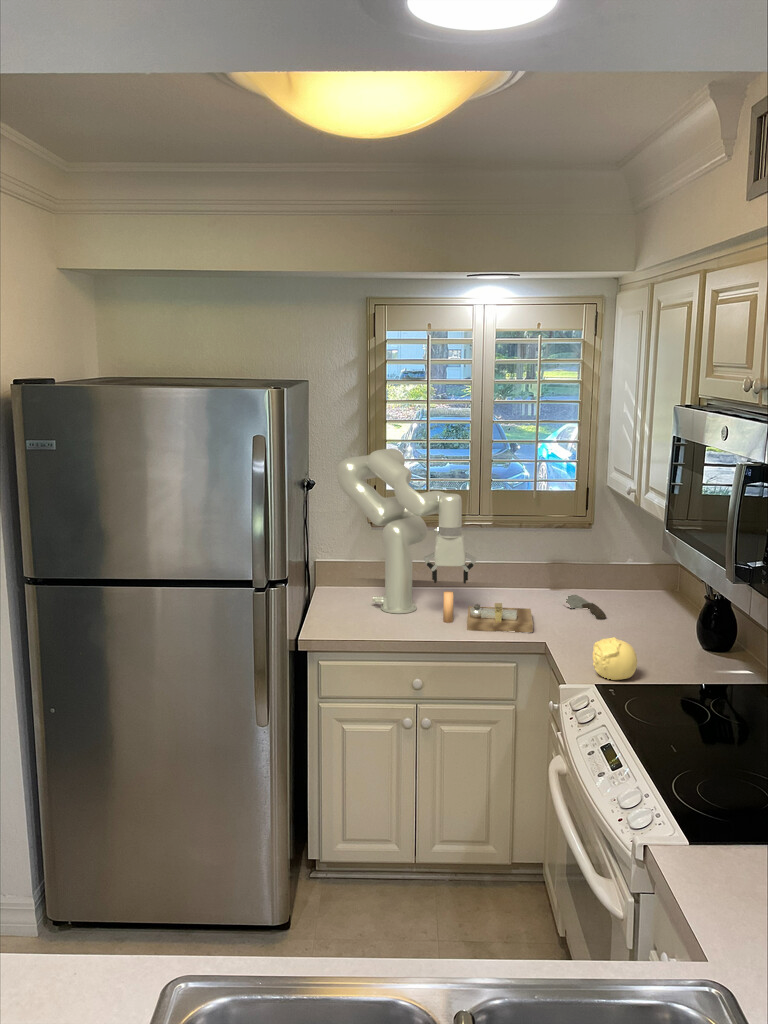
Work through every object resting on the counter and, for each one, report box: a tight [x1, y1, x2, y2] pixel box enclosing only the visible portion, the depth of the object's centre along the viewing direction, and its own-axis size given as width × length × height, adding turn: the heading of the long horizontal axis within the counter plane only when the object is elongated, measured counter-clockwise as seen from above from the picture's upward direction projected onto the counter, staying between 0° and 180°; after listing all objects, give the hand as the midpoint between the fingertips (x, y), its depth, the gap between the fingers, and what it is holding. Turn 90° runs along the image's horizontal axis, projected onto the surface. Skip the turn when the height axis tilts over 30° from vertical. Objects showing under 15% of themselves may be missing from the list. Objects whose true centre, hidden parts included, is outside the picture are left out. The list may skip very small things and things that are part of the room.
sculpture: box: [592, 636, 638, 681], centre depth 231 cm, size 12×12×11 cm
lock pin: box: [442, 590, 454, 624], centre depth 278 cm, size 3×3×10 cm
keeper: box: [494, 602, 503, 622], centre depth 272 cm, size 2×7×4 cm, turn 173°
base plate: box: [466, 603, 534, 633], centre depth 277 cm, size 21×17×7 cm
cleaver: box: [566, 594, 606, 620], centre depth 296 cm, size 29×10×2 cm, turn 12°
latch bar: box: [470, 607, 517, 620], centre depth 273 cm, size 15×4×2 cm, turn 78°
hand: (450, 582), depth 277 cm, fingers open, 9 cm apart
